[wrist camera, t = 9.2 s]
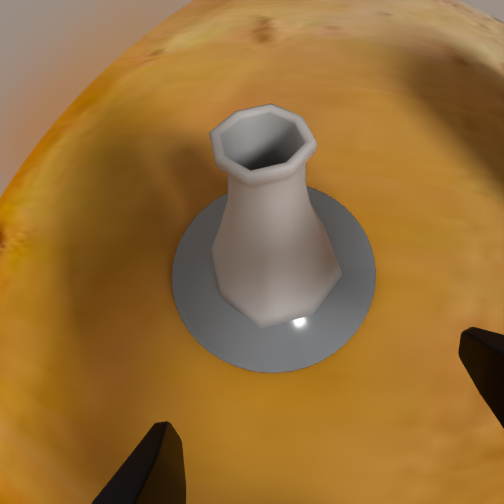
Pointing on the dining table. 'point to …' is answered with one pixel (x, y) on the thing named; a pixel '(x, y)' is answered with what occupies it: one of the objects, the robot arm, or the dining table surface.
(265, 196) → the flask
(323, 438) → the dining table surface
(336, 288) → the slate coaster
